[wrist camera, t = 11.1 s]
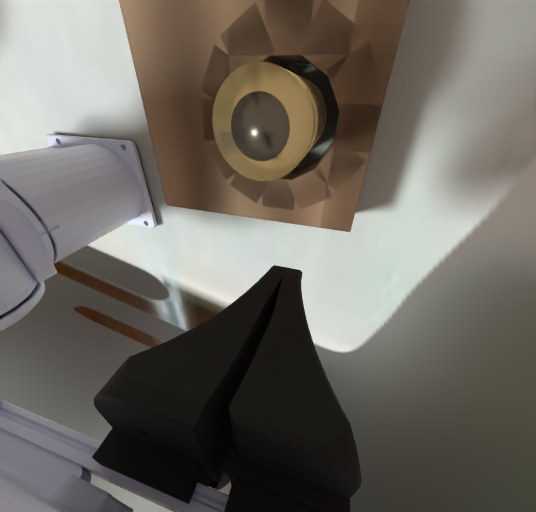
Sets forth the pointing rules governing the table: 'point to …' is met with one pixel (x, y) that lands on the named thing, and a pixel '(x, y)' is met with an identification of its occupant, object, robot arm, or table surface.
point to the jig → (272, 51)
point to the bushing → (267, 120)
